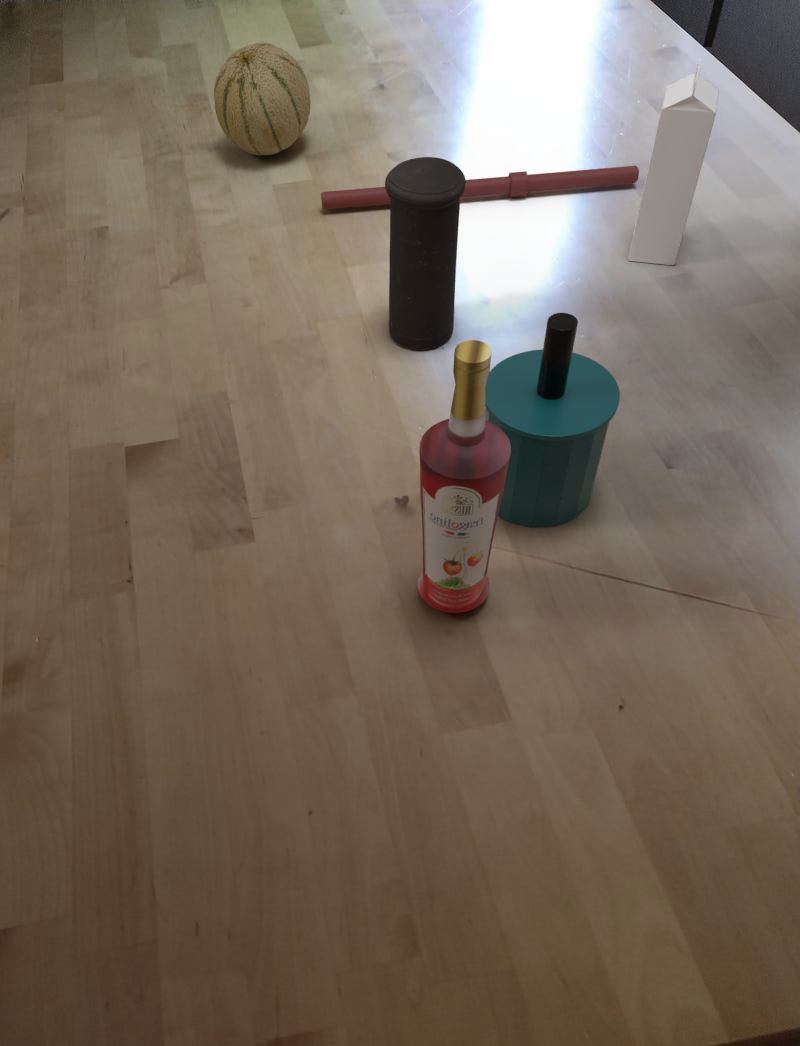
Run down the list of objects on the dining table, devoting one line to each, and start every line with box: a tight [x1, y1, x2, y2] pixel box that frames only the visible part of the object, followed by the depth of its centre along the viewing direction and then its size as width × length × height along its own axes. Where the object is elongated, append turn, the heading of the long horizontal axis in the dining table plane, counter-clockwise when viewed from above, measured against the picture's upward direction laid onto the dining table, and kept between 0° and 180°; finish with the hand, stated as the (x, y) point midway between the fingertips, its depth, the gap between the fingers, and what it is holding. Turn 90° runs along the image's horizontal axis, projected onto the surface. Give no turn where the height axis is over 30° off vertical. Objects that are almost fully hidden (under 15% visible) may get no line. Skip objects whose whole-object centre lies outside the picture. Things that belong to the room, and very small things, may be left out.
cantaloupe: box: [213, 42, 312, 156], centre depth 136 cm, size 15×15×15 cm
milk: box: [627, 58, 720, 266], centre depth 110 cm, size 6×6×22 cm
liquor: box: [417, 339, 511, 614], centre depth 76 cm, size 7×7×28 cm
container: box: [384, 156, 467, 351], centre depth 104 cm, size 9×9×20 cm
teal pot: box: [485, 408, 611, 529], centre depth 90 cm, size 12×12×12 cm
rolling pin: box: [320, 165, 640, 210], centre depth 128 cm, size 45×3×3 cm, turn 92°
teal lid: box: [485, 312, 621, 441], centre depth 81 cm, size 13×13×9 cm
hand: (789, 47), depth 79 cm, fingers open, 13 cm apart
